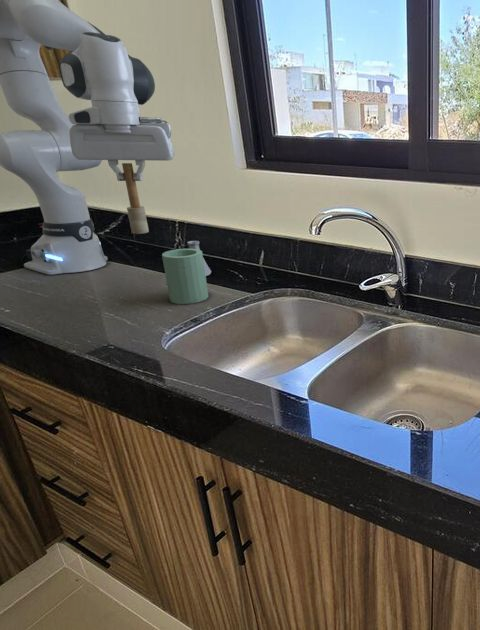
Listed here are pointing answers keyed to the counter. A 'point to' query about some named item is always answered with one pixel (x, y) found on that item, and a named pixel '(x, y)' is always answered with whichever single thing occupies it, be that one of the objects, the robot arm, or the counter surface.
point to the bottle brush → (134, 203)
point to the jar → (185, 275)
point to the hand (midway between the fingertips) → (130, 180)
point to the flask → (207, 271)
